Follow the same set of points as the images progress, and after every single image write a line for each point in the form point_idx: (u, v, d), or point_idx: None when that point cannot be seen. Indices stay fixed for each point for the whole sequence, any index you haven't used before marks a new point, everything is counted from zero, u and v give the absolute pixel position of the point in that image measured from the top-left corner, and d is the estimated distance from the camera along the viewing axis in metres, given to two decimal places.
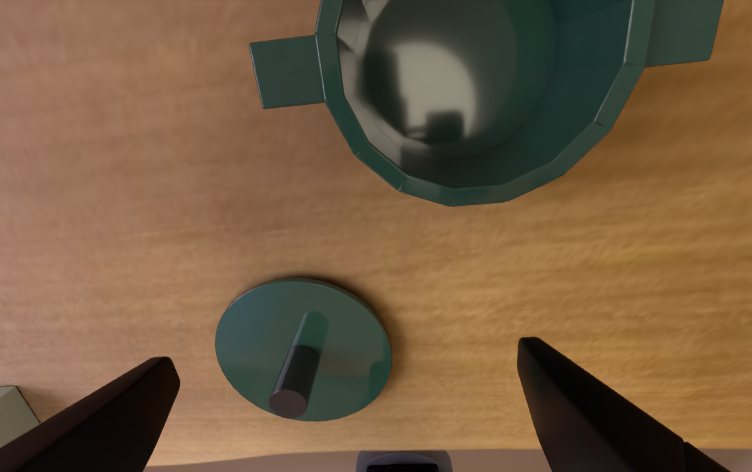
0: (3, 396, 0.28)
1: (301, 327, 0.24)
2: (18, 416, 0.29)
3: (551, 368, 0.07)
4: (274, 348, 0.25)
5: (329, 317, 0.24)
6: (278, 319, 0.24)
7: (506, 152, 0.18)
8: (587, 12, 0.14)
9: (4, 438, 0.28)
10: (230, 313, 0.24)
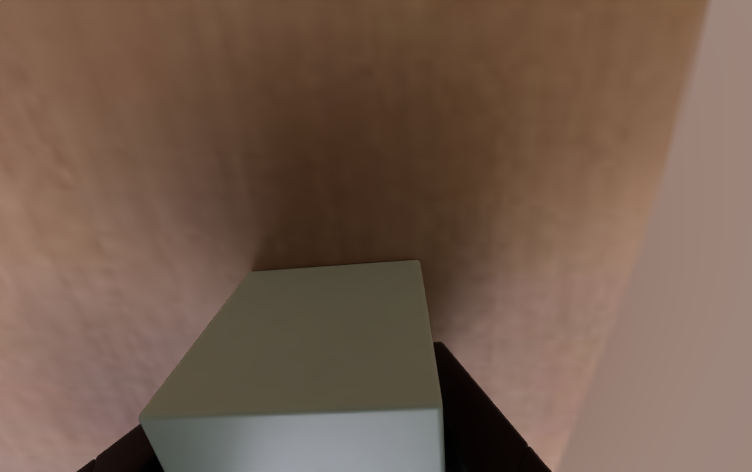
0: (236, 292, 0.08)
1: None
2: (329, 283, 0.08)
3: (439, 373, 0.07)
4: None
5: None
6: None
7: None
8: None
9: (352, 320, 0.07)
10: None
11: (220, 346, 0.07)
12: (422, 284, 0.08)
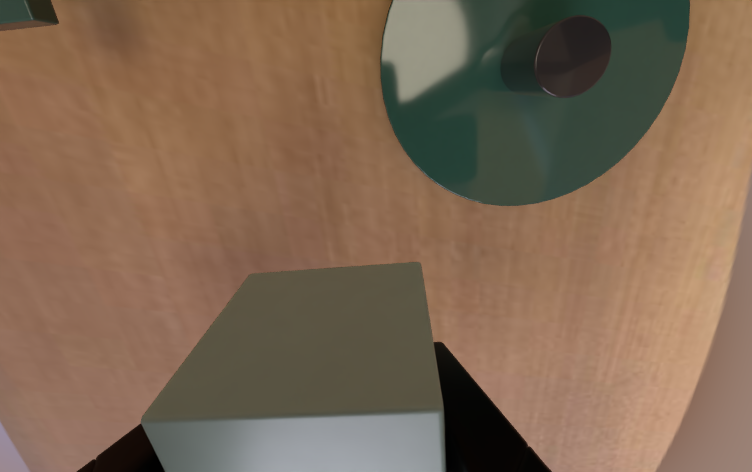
0: (238, 294, 0.08)
1: (465, 60, 0.15)
2: (330, 285, 0.08)
3: (439, 373, 0.07)
4: (502, 113, 0.16)
5: (449, 6, 0.14)
6: (447, 98, 0.16)
7: None
8: None
9: (353, 322, 0.07)
10: (432, 171, 0.17)
11: (221, 349, 0.07)
12: (423, 286, 0.08)
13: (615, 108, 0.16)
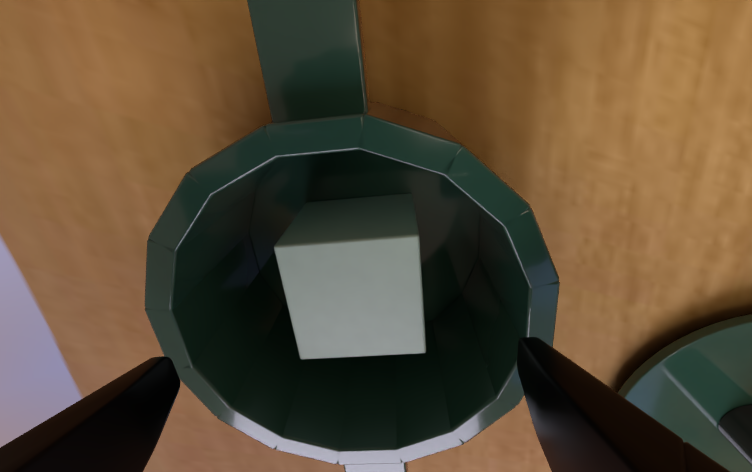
0: (302, 210, 0.14)
1: (689, 418, 0.18)
2: (357, 203, 0.14)
3: (551, 368, 0.07)
4: (712, 447, 0.19)
5: (684, 387, 0.17)
6: None
7: None
8: None
9: (373, 215, 0.13)
10: None
11: (303, 226, 0.12)
12: (412, 202, 0.14)
13: None
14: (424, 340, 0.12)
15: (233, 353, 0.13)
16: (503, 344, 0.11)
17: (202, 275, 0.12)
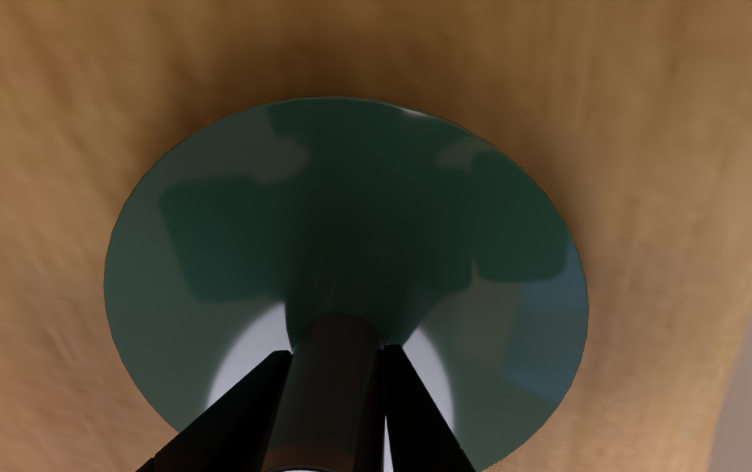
0: None
1: (241, 343, 0.10)
2: None
3: (390, 375, 0.07)
4: None
5: (195, 278, 0.09)
6: (229, 385, 0.10)
7: None
8: None
9: None
10: None
11: None
12: None
13: (488, 401, 0.10)
14: None
15: None
16: None
17: None
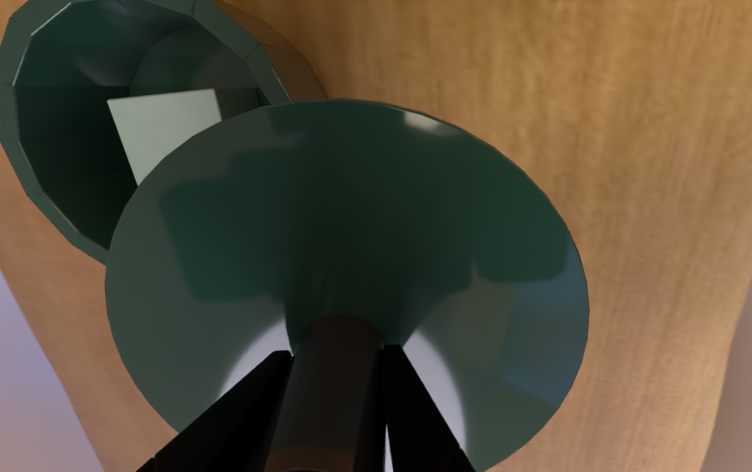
0: None
1: (242, 345, 0.10)
2: None
3: (390, 375, 0.07)
4: None
5: (196, 280, 0.09)
6: (230, 386, 0.10)
7: None
8: (131, 20, 0.14)
9: None
10: None
11: None
12: (246, 88, 0.17)
13: (489, 403, 0.10)
14: None
15: (92, 201, 0.16)
16: None
17: (59, 130, 0.15)
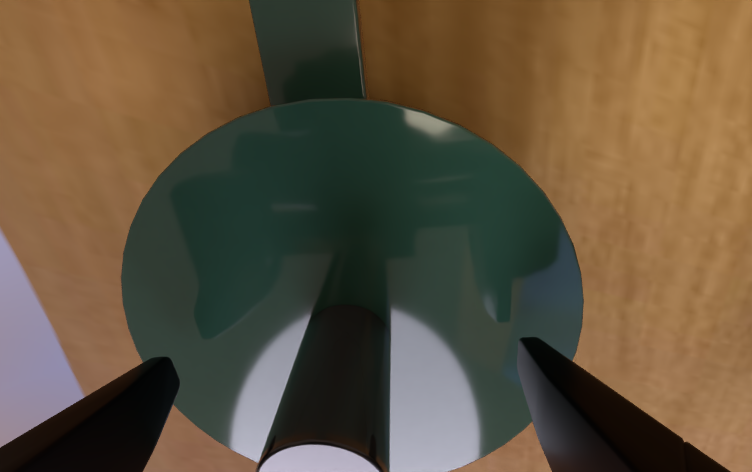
0: None
1: (252, 333, 0.10)
2: None
3: (551, 368, 0.07)
4: None
5: (209, 271, 0.09)
6: (239, 374, 0.11)
7: None
8: None
9: None
10: (242, 448, 0.12)
11: None
12: None
13: (487, 390, 0.10)
14: None
15: None
16: None
17: None
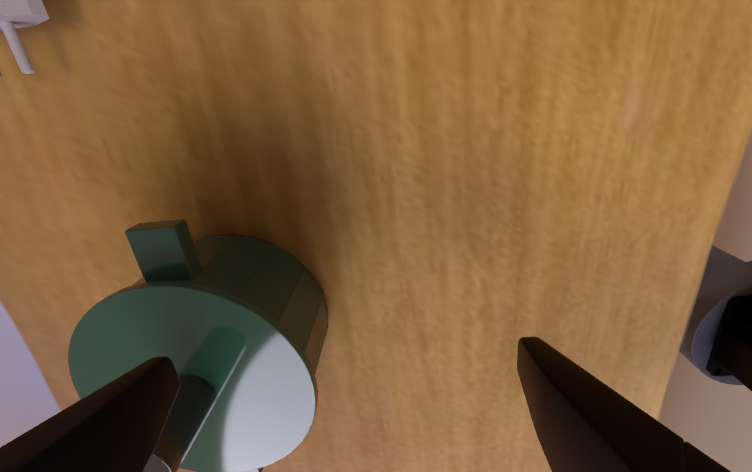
0: None
1: None
2: None
3: (551, 368, 0.07)
4: None
5: (114, 358, 0.17)
6: None
7: None
8: None
9: None
10: None
11: None
12: None
13: (275, 419, 0.19)
14: None
15: None
16: None
17: None
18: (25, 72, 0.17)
